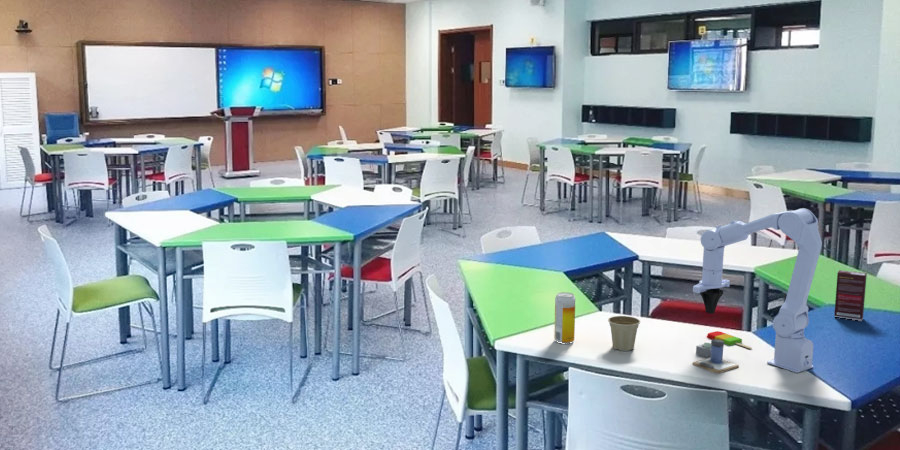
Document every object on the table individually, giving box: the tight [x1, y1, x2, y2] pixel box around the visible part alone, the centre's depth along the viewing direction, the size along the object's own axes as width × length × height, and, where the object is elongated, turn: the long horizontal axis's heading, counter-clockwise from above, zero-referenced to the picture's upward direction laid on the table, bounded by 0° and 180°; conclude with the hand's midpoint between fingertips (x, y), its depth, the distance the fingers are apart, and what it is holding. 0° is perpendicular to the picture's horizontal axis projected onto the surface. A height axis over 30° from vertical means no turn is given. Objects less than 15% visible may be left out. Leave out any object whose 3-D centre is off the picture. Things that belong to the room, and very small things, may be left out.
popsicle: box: [707, 330, 753, 350], centre depth 236 cm, size 6×15×2 cm, turn 30°
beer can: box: [553, 291, 576, 343], centre depth 236 cm, size 6×6×15 cm
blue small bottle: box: [710, 339, 725, 364], centre depth 217 cm, size 3×3×6 cm
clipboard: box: [691, 357, 740, 374], centre depth 216 cm, size 9×9×1 cm
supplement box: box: [833, 269, 868, 322], centre depth 258 cm, size 9×5×16 cm, turn 58°
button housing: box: [695, 343, 711, 358], centre depth 225 cm, size 4×4×2 cm
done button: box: [703, 342, 711, 349], centre depth 225 cm, size 2×2×2 cm
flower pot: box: [607, 315, 641, 352], centre depth 231 cm, size 9×9×9 cm
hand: (709, 312), depth 233 cm, fingers closed
